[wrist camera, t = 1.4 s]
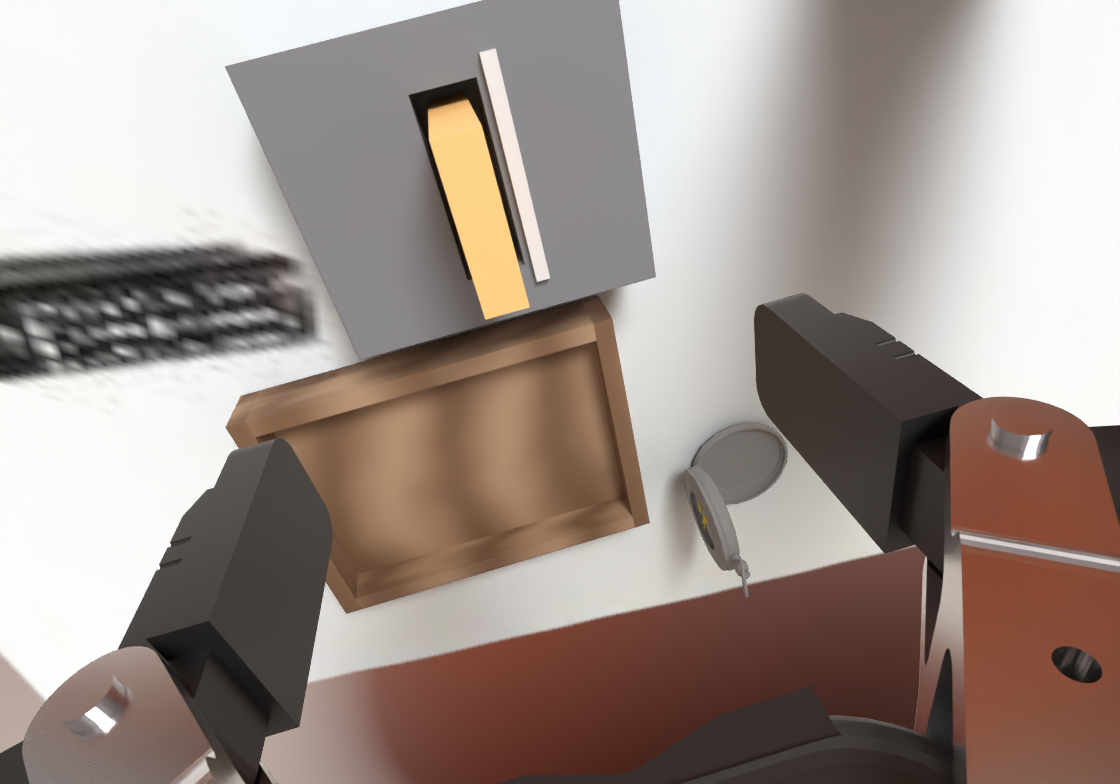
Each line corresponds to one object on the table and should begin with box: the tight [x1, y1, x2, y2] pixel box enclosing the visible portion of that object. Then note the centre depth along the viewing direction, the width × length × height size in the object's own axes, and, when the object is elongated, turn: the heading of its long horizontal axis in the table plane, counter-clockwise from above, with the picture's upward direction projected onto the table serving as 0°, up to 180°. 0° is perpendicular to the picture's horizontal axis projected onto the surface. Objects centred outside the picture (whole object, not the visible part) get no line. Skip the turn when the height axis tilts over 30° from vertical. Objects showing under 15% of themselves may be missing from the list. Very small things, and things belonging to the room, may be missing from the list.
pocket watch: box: [684, 423, 787, 597], centre depth 38 cm, size 8×8×10 cm
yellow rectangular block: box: [428, 91, 530, 320], centre depth 24 cm, size 2×6×10 cm, turn 12°
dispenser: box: [225, 0, 656, 360], centre depth 26 cm, size 14×12×5 cm
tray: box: [226, 296, 650, 614], centre depth 36 cm, size 20×15×3 cm
